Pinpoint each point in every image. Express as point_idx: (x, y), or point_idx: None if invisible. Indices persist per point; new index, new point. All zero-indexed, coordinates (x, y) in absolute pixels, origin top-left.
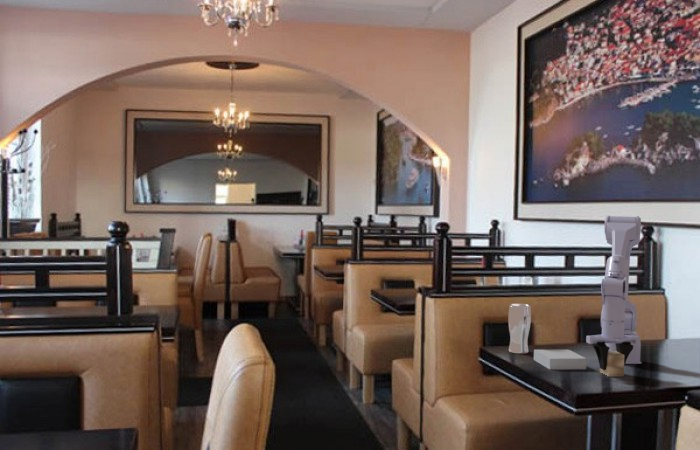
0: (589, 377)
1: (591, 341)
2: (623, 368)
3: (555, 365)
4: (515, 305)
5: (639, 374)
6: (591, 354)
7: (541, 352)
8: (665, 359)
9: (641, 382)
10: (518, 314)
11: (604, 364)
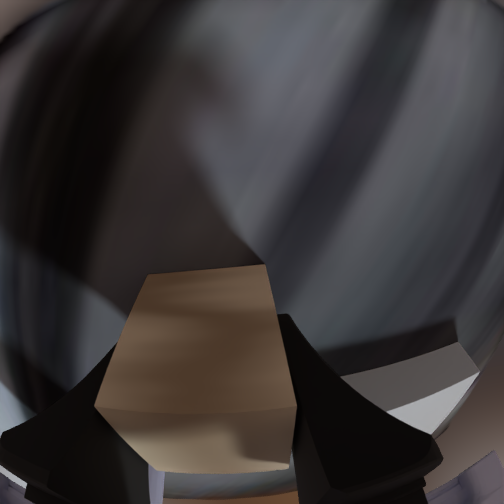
0: (402, 234)
1: (494, 473)
2: (135, 307)
3: (449, 359)
4: None
5: (55, 311)
6: (191, 475)
7: (429, 431)
8: (15, 418)
9: (81, 128)
10: None
11: (300, 337)
